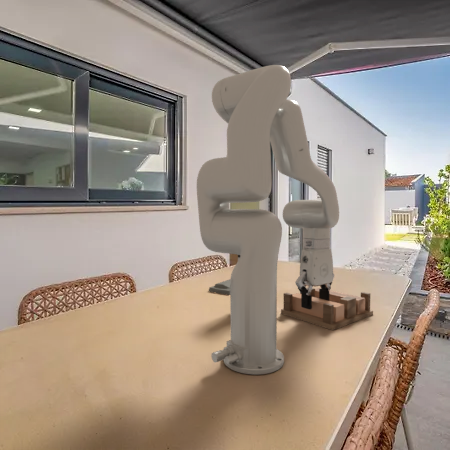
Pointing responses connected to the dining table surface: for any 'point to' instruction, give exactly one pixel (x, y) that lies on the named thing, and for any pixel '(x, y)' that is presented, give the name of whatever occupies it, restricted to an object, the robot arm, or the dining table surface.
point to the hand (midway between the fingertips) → (315, 305)
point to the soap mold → (221, 287)
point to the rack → (353, 309)
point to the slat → (318, 307)
